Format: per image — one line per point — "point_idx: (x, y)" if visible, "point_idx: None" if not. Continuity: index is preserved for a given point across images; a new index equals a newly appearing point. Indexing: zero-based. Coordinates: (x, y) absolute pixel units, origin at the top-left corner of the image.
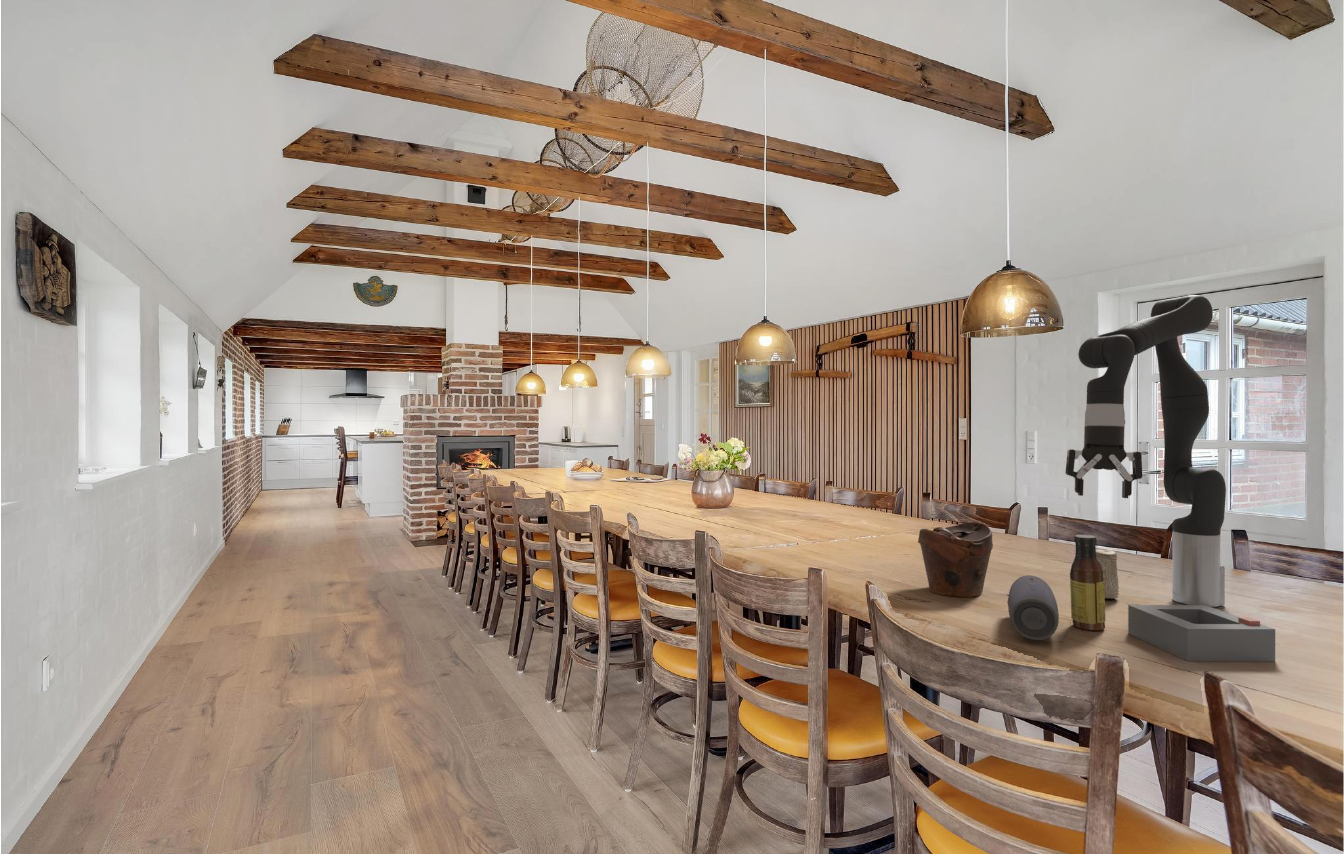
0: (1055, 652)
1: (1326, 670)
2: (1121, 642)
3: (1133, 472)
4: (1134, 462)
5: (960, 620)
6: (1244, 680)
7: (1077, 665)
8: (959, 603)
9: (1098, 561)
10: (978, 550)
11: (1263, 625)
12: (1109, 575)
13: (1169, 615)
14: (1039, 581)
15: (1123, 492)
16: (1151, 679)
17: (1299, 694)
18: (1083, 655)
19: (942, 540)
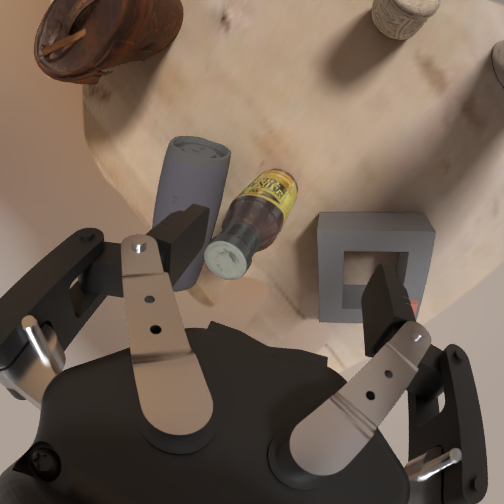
0: (202, 273)
1: (430, 315)
2: (288, 245)
3: (442, 378)
4: (420, 454)
5: (131, 175)
6: (335, 333)
7: (211, 301)
8: (139, 92)
9: (269, 235)
10: (112, 61)
11: (417, 312)
12: (402, 30)
13: (339, 279)
14: (184, 206)
15: (372, 296)
16: (257, 327)
17: (352, 352)
18: (225, 281)
19: (56, 79)
